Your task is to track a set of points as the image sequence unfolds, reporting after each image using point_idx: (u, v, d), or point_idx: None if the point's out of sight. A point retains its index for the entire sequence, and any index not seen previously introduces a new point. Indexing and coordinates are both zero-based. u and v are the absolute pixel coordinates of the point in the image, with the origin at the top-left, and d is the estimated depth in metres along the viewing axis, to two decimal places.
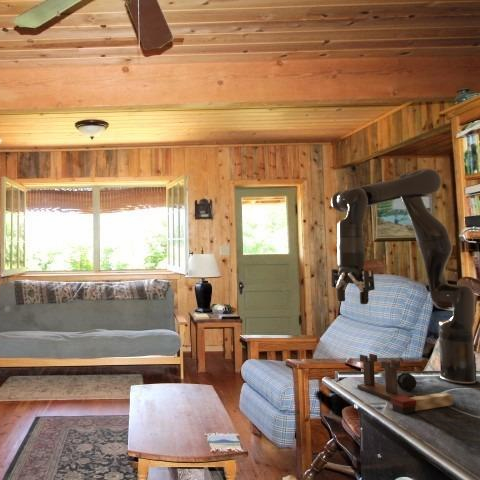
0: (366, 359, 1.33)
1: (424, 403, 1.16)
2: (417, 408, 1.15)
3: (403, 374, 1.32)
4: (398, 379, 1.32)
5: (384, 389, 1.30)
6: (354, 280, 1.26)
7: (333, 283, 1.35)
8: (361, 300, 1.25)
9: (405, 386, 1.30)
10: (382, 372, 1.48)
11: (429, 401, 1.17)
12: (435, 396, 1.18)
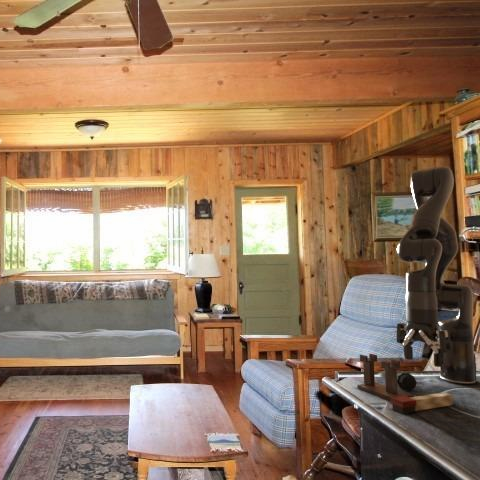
0: (366, 359, 1.33)
1: (424, 403, 1.16)
2: (417, 408, 1.15)
3: (403, 374, 1.32)
4: (398, 379, 1.32)
5: (384, 389, 1.30)
6: (427, 339, 1.16)
7: (399, 339, 1.24)
8: (435, 362, 1.14)
9: (405, 386, 1.30)
10: (382, 372, 1.48)
11: (429, 401, 1.17)
12: (435, 396, 1.18)
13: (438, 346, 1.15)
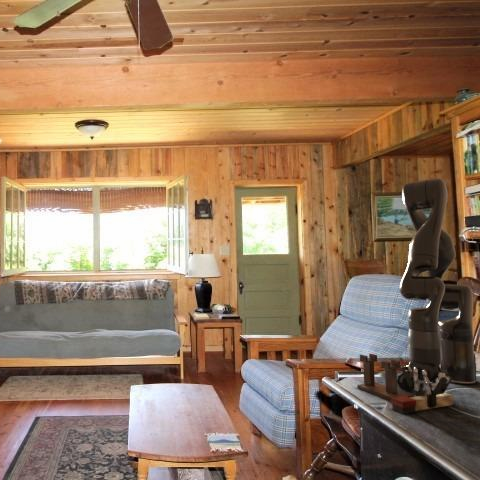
0: (366, 359, 1.33)
1: (424, 403, 1.16)
2: (417, 408, 1.15)
3: (403, 374, 1.32)
4: (398, 379, 1.32)
5: (384, 389, 1.30)
6: (426, 380, 1.16)
7: (411, 382, 1.21)
8: (428, 403, 1.16)
9: (405, 386, 1.30)
10: (382, 372, 1.48)
11: None
12: None
13: (433, 387, 1.16)
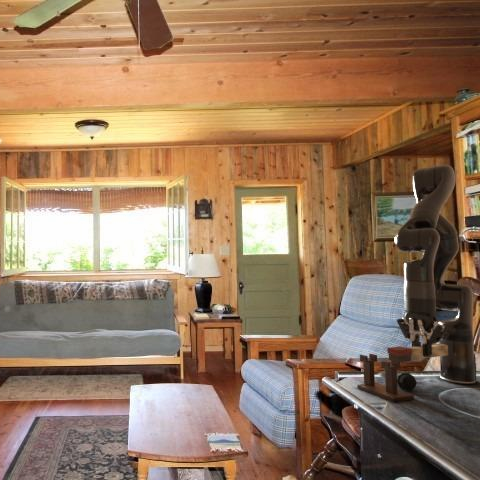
0: (366, 359, 1.33)
1: (420, 352, 1.17)
2: (413, 357, 1.17)
3: (403, 374, 1.32)
4: (398, 379, 1.32)
5: (384, 389, 1.30)
6: (421, 329, 1.17)
7: (407, 334, 1.22)
8: (424, 353, 1.17)
9: (405, 386, 1.30)
10: (382, 372, 1.48)
11: None
12: None
13: (429, 337, 1.18)
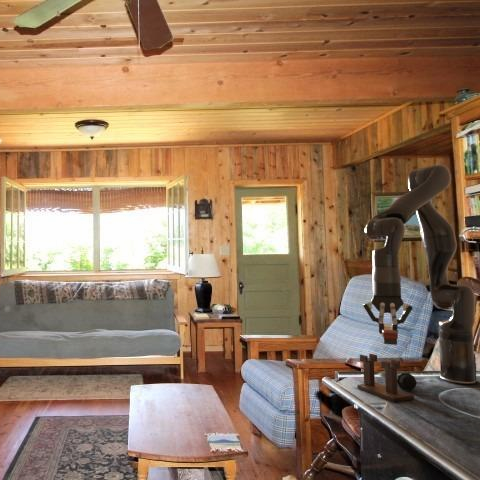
0: (366, 359, 1.33)
1: None
2: None
3: (403, 374, 1.32)
4: (398, 379, 1.32)
5: (384, 389, 1.30)
6: (393, 311, 1.26)
7: (375, 317, 1.29)
8: None
9: (405, 386, 1.30)
10: (382, 372, 1.48)
11: None
12: (389, 326, 1.31)
13: None
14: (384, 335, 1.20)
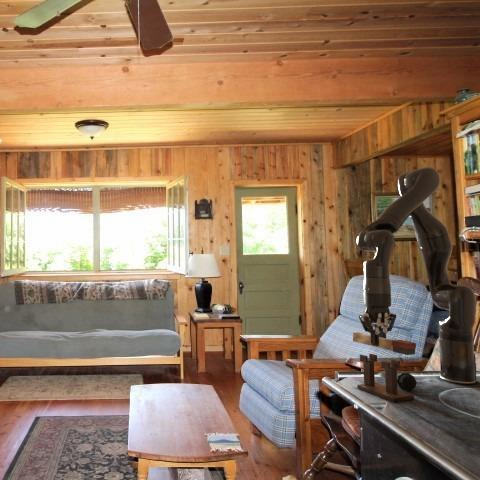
0: (366, 359, 1.33)
1: None
2: None
3: (403, 374, 1.32)
4: (398, 379, 1.32)
5: (384, 389, 1.30)
6: (386, 321, 1.30)
7: None
8: None
9: (405, 386, 1.30)
10: (382, 372, 1.48)
11: None
12: None
13: (380, 326, 1.33)
14: (407, 346, 1.20)
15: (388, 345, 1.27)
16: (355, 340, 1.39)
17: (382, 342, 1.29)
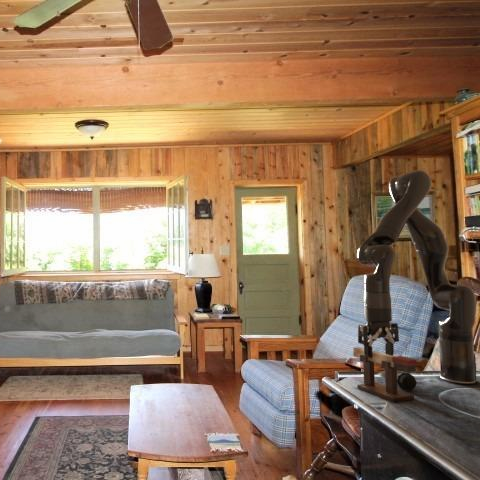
0: (366, 359, 1.33)
1: None
2: None
3: (403, 374, 1.32)
4: (398, 379, 1.32)
5: (384, 389, 1.30)
6: (389, 334, 1.31)
7: (366, 340, 1.28)
8: (392, 352, 1.31)
9: (405, 386, 1.30)
10: (382, 372, 1.48)
11: None
12: None
13: None
14: (408, 363, 1.20)
15: (389, 361, 1.27)
16: (355, 355, 1.39)
17: (382, 358, 1.29)
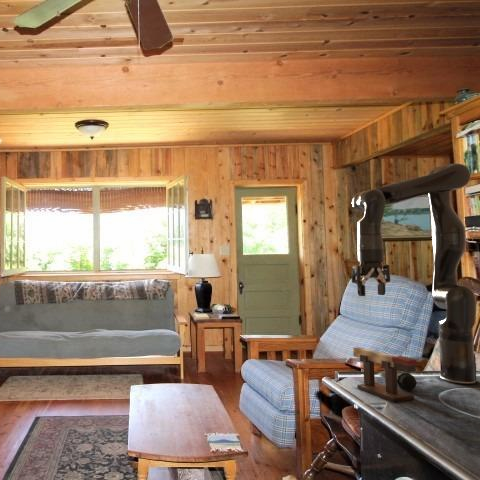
0: (366, 359, 1.33)
1: None
2: None
3: (403, 374, 1.32)
4: (398, 379, 1.32)
5: (384, 389, 1.30)
6: (381, 274, 1.39)
7: (359, 279, 1.37)
8: (384, 291, 1.40)
9: (405, 386, 1.30)
10: (382, 372, 1.48)
11: None
12: (372, 351, 1.34)
13: (378, 279, 1.41)
14: (408, 363, 1.20)
15: (389, 361, 1.27)
16: (355, 355, 1.39)
17: (382, 358, 1.29)
